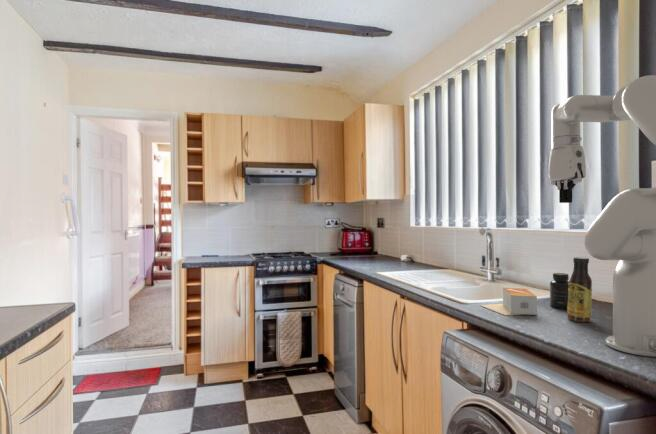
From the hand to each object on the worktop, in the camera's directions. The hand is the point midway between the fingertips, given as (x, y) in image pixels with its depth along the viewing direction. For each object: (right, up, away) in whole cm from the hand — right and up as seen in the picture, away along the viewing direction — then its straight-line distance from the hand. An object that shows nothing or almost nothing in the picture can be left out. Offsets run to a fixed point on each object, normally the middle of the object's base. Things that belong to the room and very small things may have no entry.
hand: (565, 202), depth 120 cm
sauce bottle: (+5, -37, +1) cm, 38 cm away
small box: (-9, -34, +7) cm, 36 cm away
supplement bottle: (+10, -37, +19) cm, 43 cm away
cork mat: (-11, -37, +15) cm, 42 cm away
